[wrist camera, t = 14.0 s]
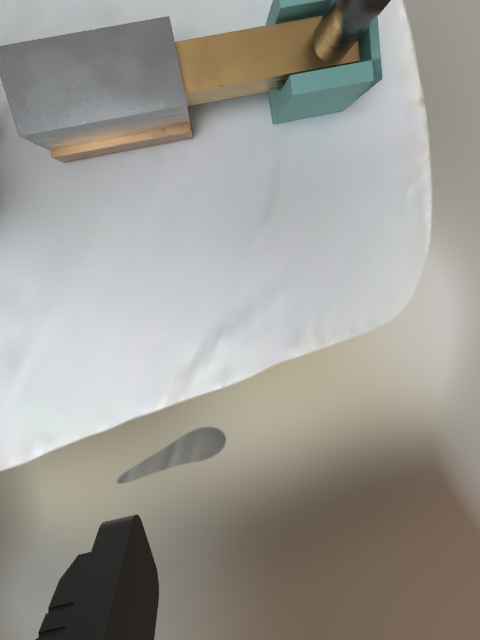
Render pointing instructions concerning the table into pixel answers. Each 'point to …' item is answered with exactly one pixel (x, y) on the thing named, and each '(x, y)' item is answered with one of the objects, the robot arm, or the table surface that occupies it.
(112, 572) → the robot arm
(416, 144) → the table surface
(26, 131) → the sleeve
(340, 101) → the socket
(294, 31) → the board with post
